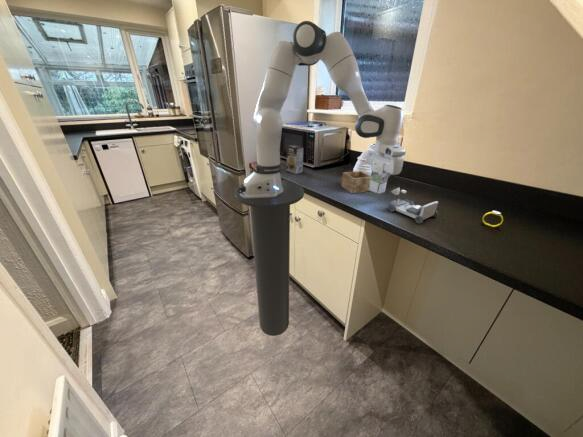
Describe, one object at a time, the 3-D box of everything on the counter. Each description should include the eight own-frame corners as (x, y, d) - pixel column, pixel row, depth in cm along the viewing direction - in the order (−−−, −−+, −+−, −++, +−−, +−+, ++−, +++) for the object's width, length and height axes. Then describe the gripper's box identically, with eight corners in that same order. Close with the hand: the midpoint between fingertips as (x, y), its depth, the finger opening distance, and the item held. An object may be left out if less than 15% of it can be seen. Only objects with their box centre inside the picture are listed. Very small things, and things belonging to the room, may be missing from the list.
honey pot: (362, 173, 150) (367, 144, 141) (378, 178, 140) (384, 148, 132) (347, 176, 144) (351, 146, 135) (363, 182, 134) (368, 150, 126)
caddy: (352, 193, 119) (354, 178, 115) (341, 186, 128) (342, 172, 124) (370, 191, 122) (373, 176, 118) (358, 184, 131) (360, 170, 128)
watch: (479, 224, 92) (485, 210, 89) (480, 221, 94) (486, 208, 91) (498, 229, 88) (505, 215, 85) (499, 226, 90) (506, 213, 87)
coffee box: (286, 170, 152) (286, 145, 145) (293, 169, 156) (293, 144, 149) (295, 174, 146) (296, 148, 139) (302, 172, 150) (303, 146, 143)
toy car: (387, 187, 99) (403, 182, 105) (382, 207, 104) (398, 202, 110) (428, 201, 86) (444, 195, 92) (421, 224, 91) (436, 217, 96)
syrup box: (385, 192, 108) (392, 160, 101) (377, 194, 105) (384, 162, 98) (375, 188, 112) (381, 158, 105) (367, 190, 109) (373, 159, 102)
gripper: (365, 143, 107) (360, 172, 113) (396, 152, 90) (388, 186, 96) (376, 142, 109) (371, 171, 115) (409, 152, 92) (400, 185, 98)
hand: (379, 178), depth 105 cm, fingers closed on syrup box, 6 cm apart
